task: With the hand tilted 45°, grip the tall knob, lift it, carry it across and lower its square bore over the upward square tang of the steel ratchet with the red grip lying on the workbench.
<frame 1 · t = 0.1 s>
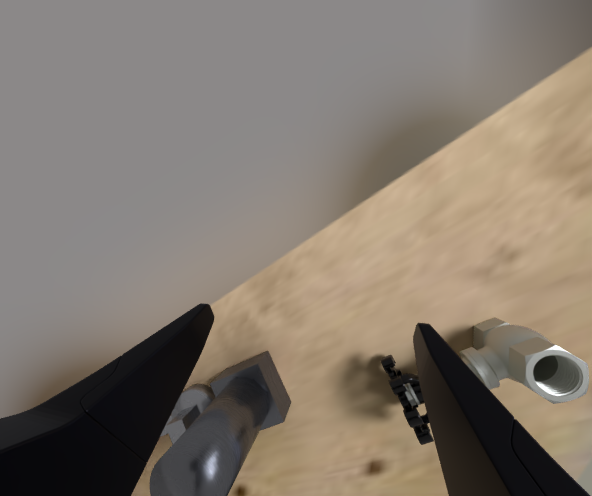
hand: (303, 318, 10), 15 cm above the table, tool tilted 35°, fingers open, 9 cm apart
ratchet: (201, 407, 28), on the table
valve: (450, 352, 22), on the table
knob: (256, 385, 26), on the table
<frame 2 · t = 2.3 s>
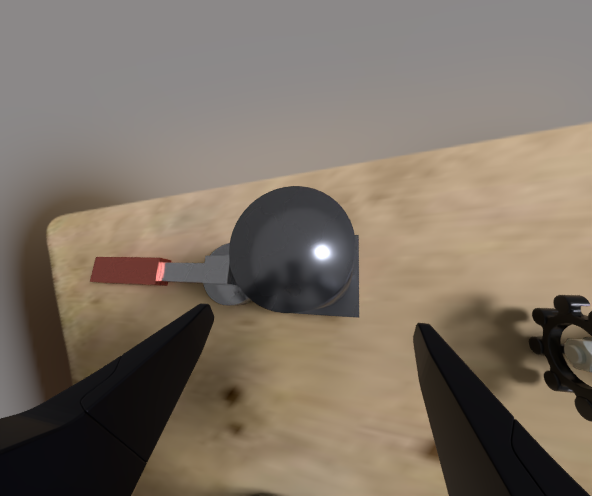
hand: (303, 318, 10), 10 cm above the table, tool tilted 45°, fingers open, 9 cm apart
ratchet: (238, 275, 22), on the table
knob: (322, 277, 20), on the table
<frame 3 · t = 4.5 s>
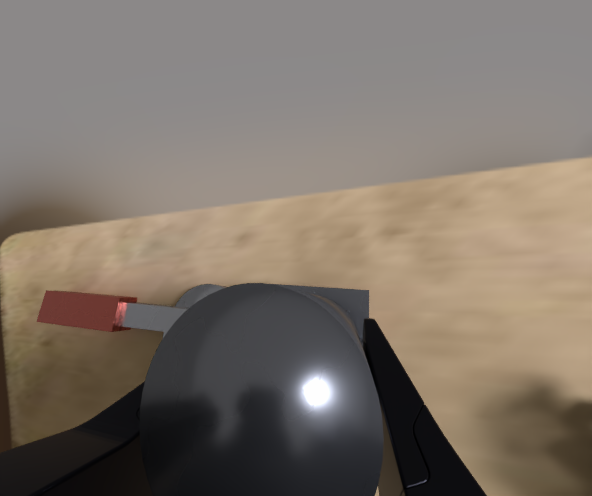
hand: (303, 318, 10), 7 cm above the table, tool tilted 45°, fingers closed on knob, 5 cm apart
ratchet: (216, 322, 18), on the table
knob: (319, 333, 16), on the table, touching gripper
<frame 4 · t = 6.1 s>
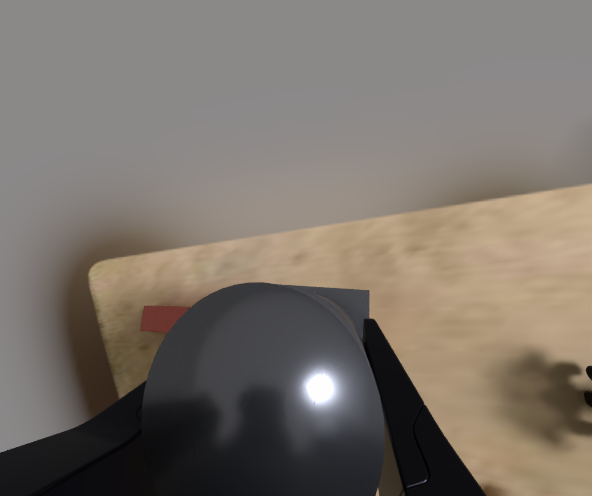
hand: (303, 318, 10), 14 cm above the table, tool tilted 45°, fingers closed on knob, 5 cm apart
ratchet: (284, 323, 23), on the table
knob: (319, 333, 16), point 7 cm above the table, touching gripper
when the fingers open (9 cm above the table, at t = 8.0 s): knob drops 1 cm, resting on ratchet.
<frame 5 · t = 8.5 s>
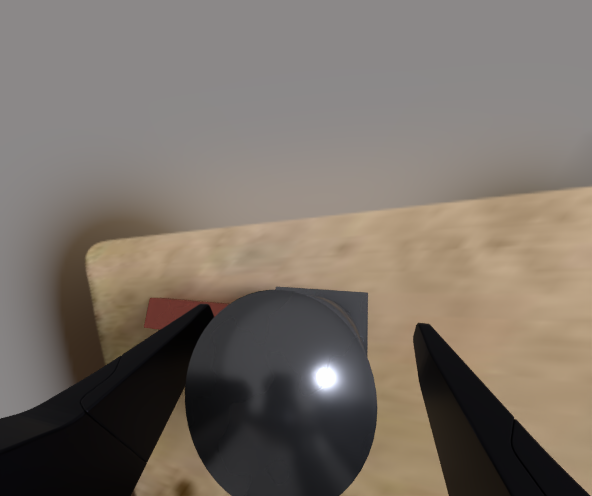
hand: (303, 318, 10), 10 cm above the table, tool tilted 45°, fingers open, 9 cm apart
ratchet: (323, 328, 19), on the table, touching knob
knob: (322, 332, 17), point 2 cm above the table, touching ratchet
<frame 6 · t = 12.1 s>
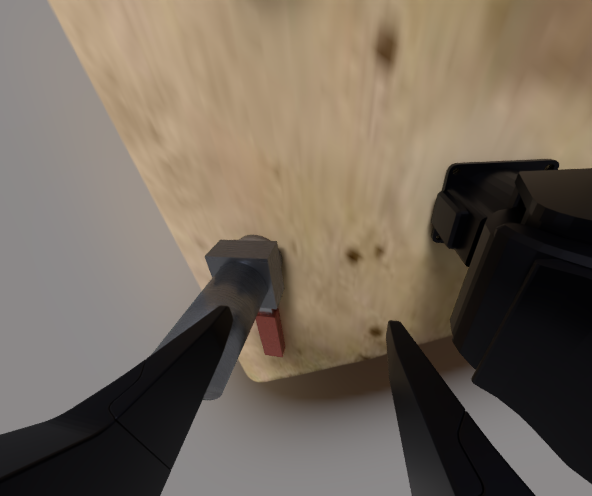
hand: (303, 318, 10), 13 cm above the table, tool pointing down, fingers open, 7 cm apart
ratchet: (257, 256, 26), on the table, touching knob
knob: (253, 265, 24), point 2 cm above the table, touching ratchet
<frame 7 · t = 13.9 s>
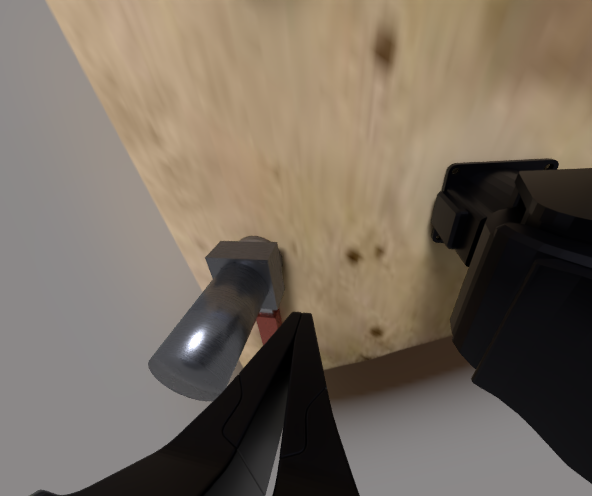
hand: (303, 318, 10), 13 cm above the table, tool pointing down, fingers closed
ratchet: (258, 257, 26), on the table, touching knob
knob: (253, 266, 24), point 2 cm above the table, touching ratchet
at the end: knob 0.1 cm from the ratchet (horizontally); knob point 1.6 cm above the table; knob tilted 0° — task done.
